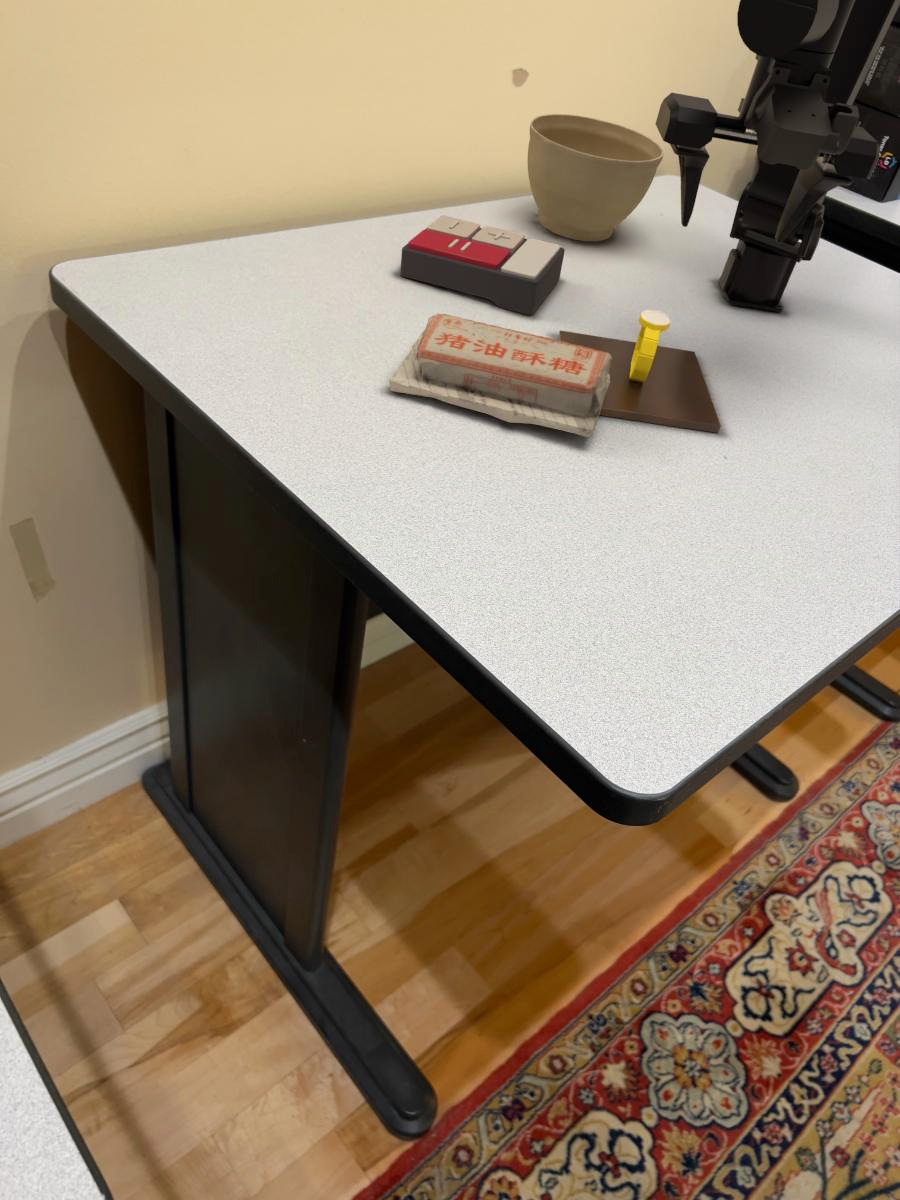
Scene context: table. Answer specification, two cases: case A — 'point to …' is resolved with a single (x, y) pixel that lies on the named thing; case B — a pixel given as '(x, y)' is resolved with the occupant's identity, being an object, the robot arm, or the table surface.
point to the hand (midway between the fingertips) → (731, 233)
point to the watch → (647, 343)
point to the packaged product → (507, 374)
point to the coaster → (654, 386)
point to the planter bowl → (588, 173)
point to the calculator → (484, 263)
